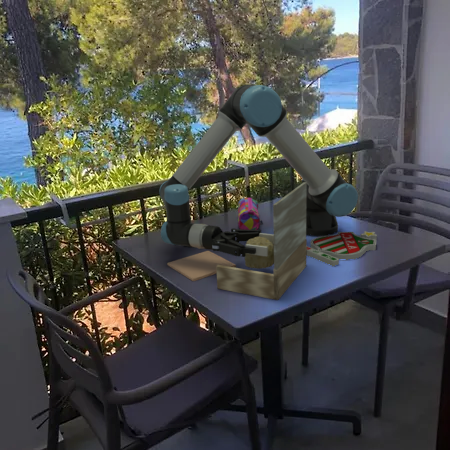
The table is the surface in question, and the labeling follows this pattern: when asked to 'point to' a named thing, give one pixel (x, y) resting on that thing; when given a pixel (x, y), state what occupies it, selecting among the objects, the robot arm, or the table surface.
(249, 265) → the olive rounded lump
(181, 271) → the terracotta tile
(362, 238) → the decorative emblem
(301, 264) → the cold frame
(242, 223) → the pencil case
